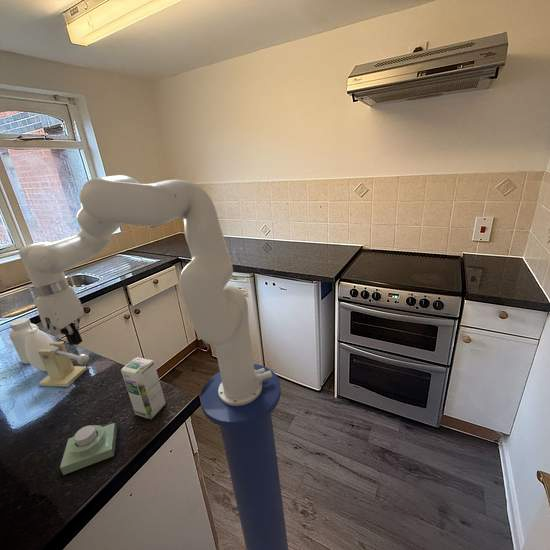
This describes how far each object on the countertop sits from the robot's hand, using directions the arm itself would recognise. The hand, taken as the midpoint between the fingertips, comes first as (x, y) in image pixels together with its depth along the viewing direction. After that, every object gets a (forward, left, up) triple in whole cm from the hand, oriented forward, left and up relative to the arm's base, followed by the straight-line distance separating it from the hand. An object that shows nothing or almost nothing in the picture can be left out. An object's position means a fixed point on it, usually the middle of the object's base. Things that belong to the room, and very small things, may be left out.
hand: (76, 343), depth 89 cm
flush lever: (+4, -3, -6) cm, 8 cm away
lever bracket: (+8, -5, -13) cm, 16 cm away
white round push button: (-5, +30, -10) cm, 32 cm away
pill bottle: (+21, -24, -13) cm, 34 cm away
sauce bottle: (+14, -13, -13) cm, 23 cm away
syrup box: (-18, +23, -13) cm, 32 cm away
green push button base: (-5, +30, -13) cm, 33 cm away
